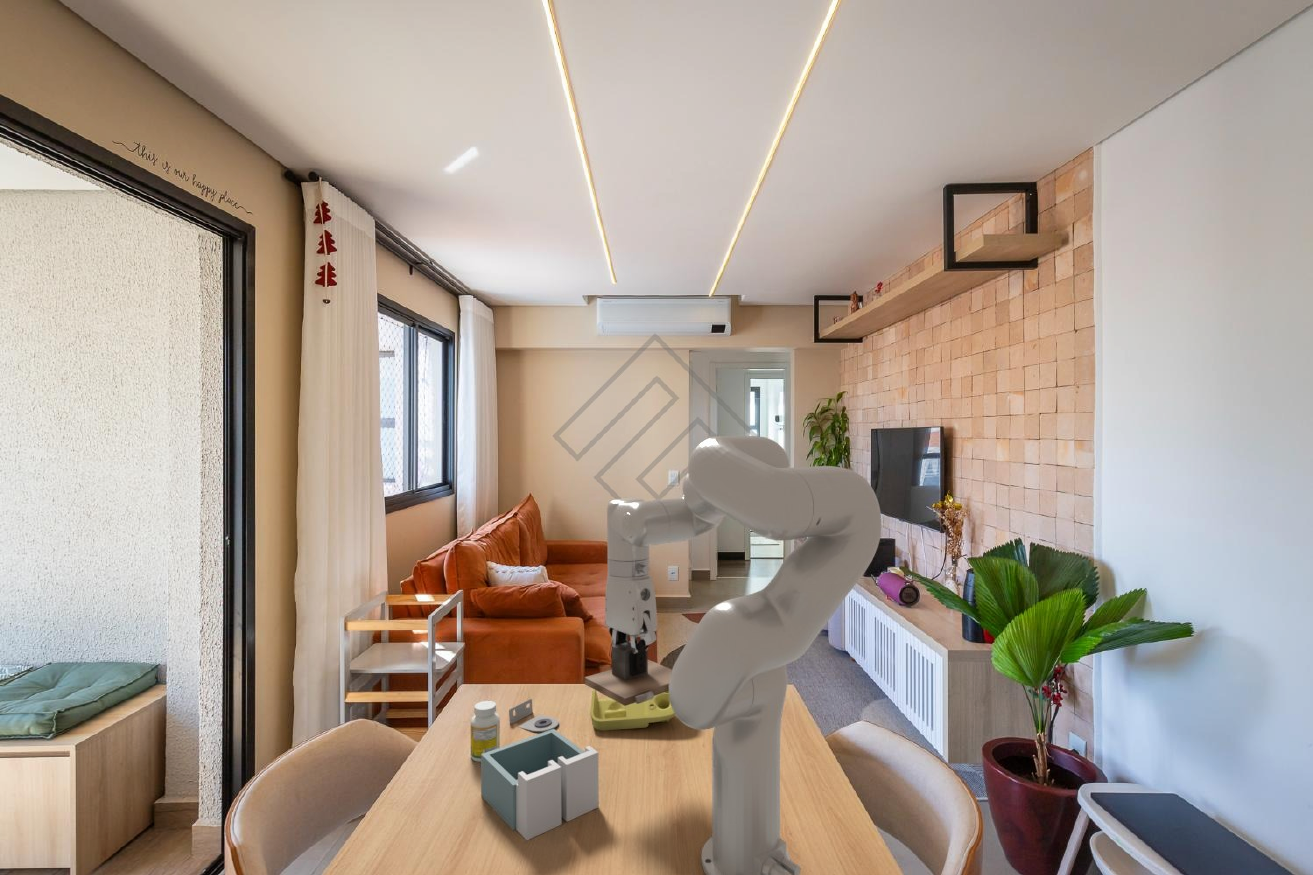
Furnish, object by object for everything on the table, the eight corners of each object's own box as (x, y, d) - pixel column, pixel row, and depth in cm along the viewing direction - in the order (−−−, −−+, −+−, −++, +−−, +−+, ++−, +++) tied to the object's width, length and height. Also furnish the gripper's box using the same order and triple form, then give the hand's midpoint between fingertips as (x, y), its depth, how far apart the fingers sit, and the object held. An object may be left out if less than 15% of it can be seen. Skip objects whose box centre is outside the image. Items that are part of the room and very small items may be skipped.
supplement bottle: (491, 764, 113) (491, 712, 113) (465, 761, 114) (465, 709, 114) (504, 749, 119) (504, 700, 119) (479, 746, 120) (479, 697, 120)
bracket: (543, 738, 124) (543, 721, 124) (508, 725, 129) (508, 709, 129) (565, 725, 129) (565, 708, 129) (531, 713, 135) (531, 697, 135)
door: (584, 684, 108) (584, 648, 108) (646, 665, 117) (646, 632, 117) (629, 708, 98) (629, 669, 98) (693, 685, 106) (693, 649, 107)
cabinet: (481, 795, 103) (481, 742, 103) (553, 766, 112) (553, 717, 112) (523, 841, 92) (523, 781, 91) (601, 805, 100) (600, 751, 100)
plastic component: (589, 722, 125) (593, 683, 134) (593, 746, 128) (597, 706, 137) (685, 715, 125) (682, 676, 134) (687, 739, 128) (685, 700, 137)
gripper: (675, 571, 105) (676, 678, 105) (618, 558, 118) (619, 653, 118) (640, 578, 101) (642, 690, 100) (585, 563, 113) (586, 662, 113)
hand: (629, 669), depth 109 cm, fingers closed on door, 4 cm apart
